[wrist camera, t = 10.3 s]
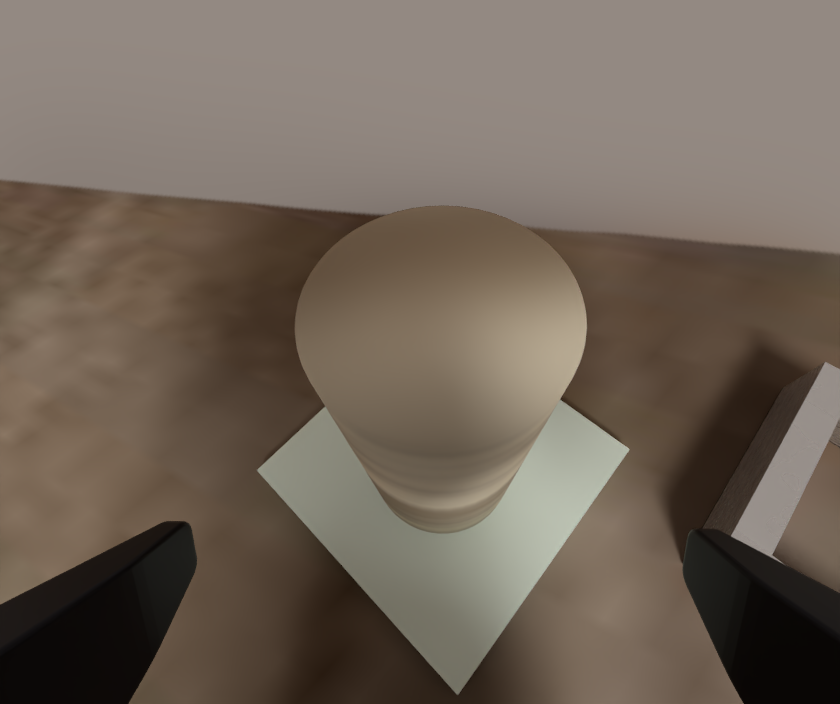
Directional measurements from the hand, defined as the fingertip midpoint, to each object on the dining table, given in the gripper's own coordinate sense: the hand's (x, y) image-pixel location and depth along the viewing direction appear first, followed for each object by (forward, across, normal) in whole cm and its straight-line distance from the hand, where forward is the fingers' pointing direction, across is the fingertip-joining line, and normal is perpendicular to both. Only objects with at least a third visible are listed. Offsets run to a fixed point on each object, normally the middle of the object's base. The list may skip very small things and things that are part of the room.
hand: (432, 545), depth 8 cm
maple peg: (+10, 0, +4) cm, 10 cm away
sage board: (+10, 0, +4) cm, 11 cm away
